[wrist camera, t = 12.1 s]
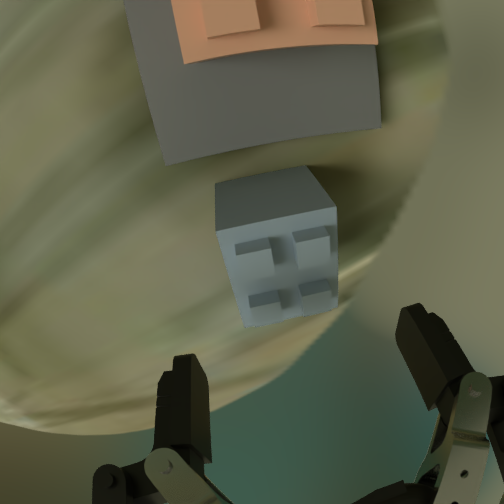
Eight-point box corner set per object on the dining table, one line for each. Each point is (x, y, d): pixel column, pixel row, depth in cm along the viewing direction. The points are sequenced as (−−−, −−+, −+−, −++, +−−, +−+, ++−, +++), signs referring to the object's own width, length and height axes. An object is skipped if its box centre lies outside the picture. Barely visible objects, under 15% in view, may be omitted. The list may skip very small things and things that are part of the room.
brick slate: (214, 183, 17) (215, 242, 12) (305, 164, 16) (343, 215, 12) (237, 268, 20) (246, 339, 15) (313, 252, 20) (342, 317, 15)
